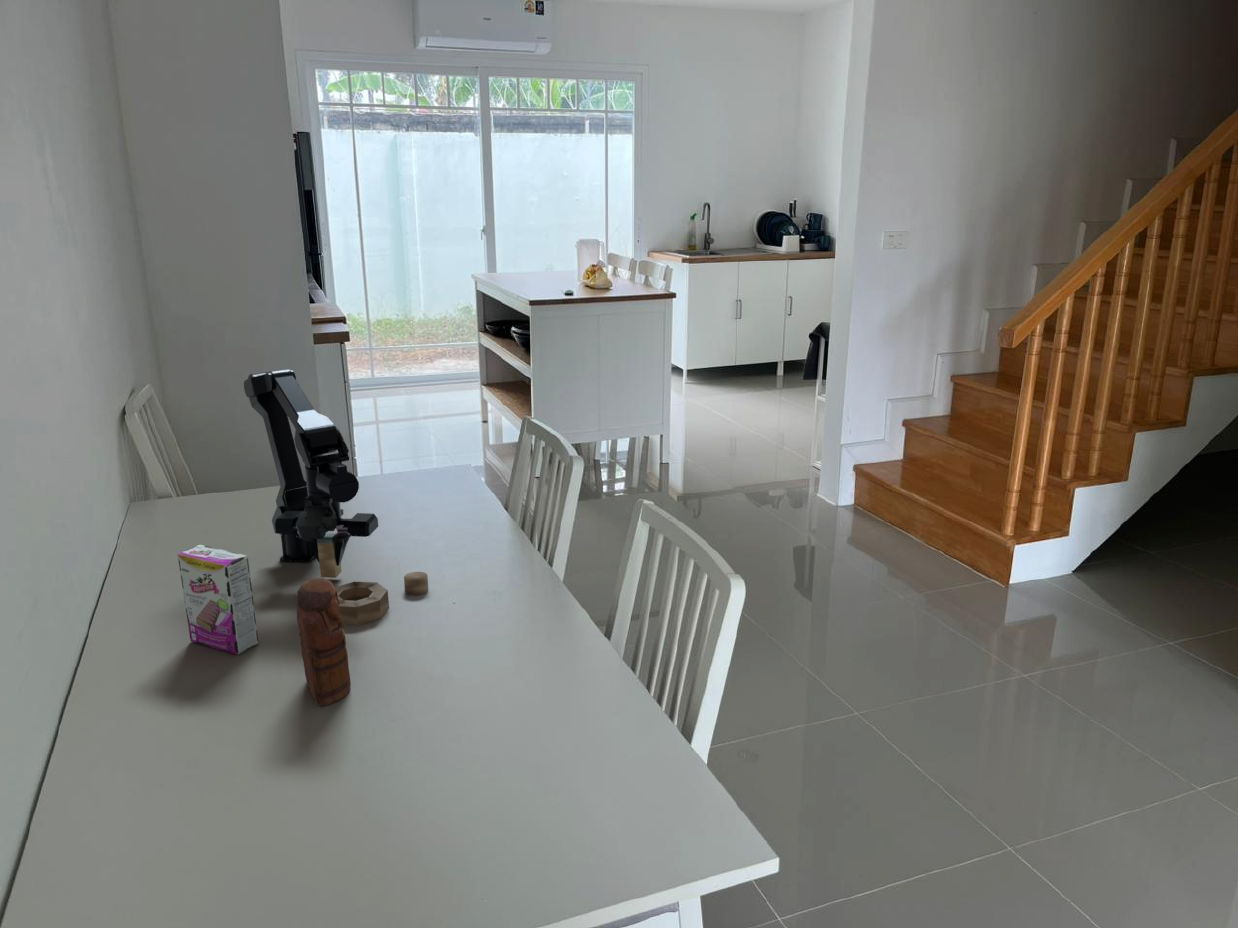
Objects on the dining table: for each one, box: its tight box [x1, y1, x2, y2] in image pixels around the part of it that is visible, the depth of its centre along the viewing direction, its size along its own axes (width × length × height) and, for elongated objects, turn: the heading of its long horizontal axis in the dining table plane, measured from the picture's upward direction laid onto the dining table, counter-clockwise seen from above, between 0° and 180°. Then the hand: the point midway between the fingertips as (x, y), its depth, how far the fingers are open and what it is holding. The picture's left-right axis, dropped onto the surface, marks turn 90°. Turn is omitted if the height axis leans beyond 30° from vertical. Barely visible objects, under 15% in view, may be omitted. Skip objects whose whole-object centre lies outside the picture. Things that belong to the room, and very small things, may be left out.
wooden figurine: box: [296, 577, 351, 706], centre depth 144 cm, size 12×6×18 cm, turn 26°
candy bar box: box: [177, 544, 259, 656], centre depth 157 cm, size 11×5×16 cm, turn 65°
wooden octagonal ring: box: [334, 581, 390, 626], centre depth 171 cm, size 10×10×4 cm
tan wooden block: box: [317, 532, 342, 579], centre depth 183 cm, size 3×3×8 cm
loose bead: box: [403, 571, 429, 596], centre depth 180 cm, size 4×4×3 cm
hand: (330, 564), depth 184 cm, fingers closed on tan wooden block, 3 cm apart
